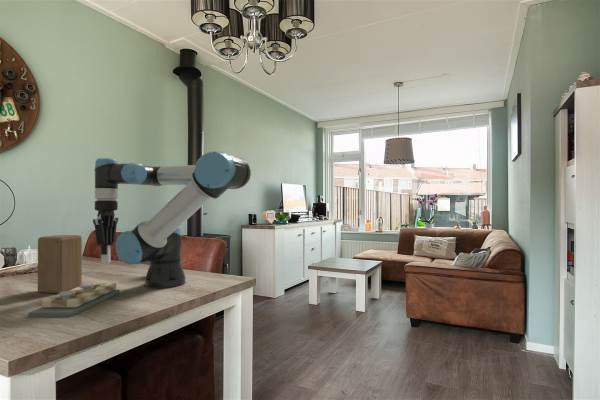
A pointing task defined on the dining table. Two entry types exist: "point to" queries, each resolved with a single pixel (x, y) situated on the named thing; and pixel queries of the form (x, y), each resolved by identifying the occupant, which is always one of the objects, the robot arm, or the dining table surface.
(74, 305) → the panel
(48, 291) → the wooden block
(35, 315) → the boss board
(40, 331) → the dining table surface
